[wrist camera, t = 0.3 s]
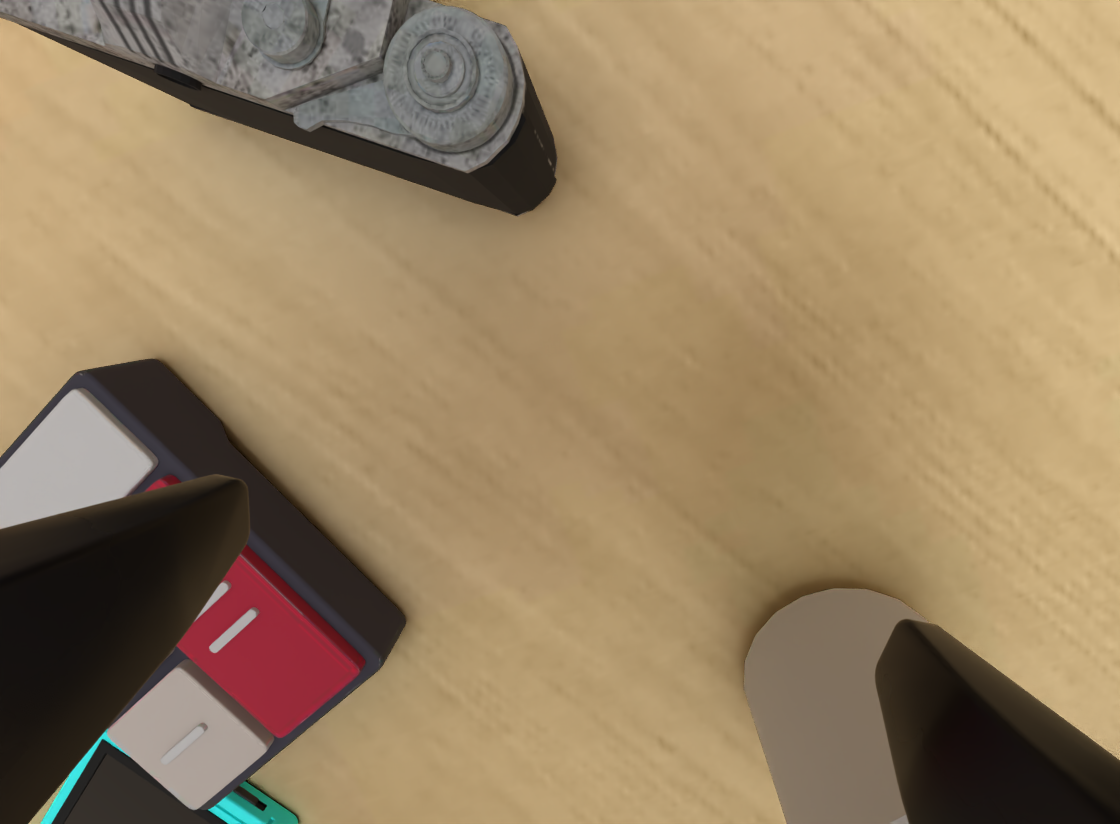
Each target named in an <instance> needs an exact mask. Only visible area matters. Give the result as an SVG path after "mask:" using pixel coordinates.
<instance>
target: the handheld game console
mask: <svg viewBox="0 0 1120 824" xmlns="http://www.w3.org/2000/svg"><path fill="white" fill-rule="evenodd" d="M107 731H108V729H107V730H106V731H105V732H104V733H103V735H102V736H101V737H100V738H99V739H98V740H97V742H96V743H95V744H94V745H93V746H92V748H91V749H90V750H89V751H88V752H87V754H86V755H85V756H84V757H83V758H82V760H81V761H80V762H79V763H78V764H77V766H76V767H75V768H74V769H73V770H72V772H71V773H70V775H69V776H68V778H67V780H66V781H65V783H64V785H63V786H62V788H61V790H60V791H59V793H58V795H57V796H56V798H55V800H54V802H53V803H52V805H51V807H50V808H49V810H48V812H47V813H46V815H45V817H44V818H43V820H42V822H41V823H40V824H298V820H297V817H296V816H295V815H294V814H292V813H291V812H290V811H288V810H287V809H285V808H284V807H282V806H281V805H279V804H278V803H276V802H275V801H274V800H272V799H271V798H269V797H268V796H266V795H265V794H263V793H262V792H260V791H259V790H257V789H256V788H254V787H253V786H251V785H250V784H248V783H247V782H246V781H244V782H243V783H242V784H240V785H239V786H238V787H237V788H236V789H234V790H233V791H232V792H231V793H230V794H228V795H227V796H226V797H225V798H224V799H222V800H221V801H220V802H219V803H218V804H216V805H215V806H214V807H212V808H211V809H208V810H202V809H199V808H198V809H196V810H192V809H190V808H188V807H187V806H186V805H184V804H183V803H182V802H181V801H180V800H179V799H178V798H176V797H175V796H174V795H173V794H172V793H171V792H170V791H168V790H167V789H166V788H165V787H164V786H163V785H162V784H160V783H159V782H158V781H157V780H156V779H155V778H154V777H152V776H151V775H150V774H149V773H148V772H147V771H146V770H145V769H143V768H142V767H141V766H140V765H139V764H138V763H137V762H135V761H134V760H133V759H132V758H131V757H130V756H129V755H127V754H126V753H125V752H124V751H123V750H122V749H121V748H119V747H118V746H117V745H116V744H115V743H114V742H113V741H112V740H111V739H110V738H109V737H108V735H107Z"/></svg>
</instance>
